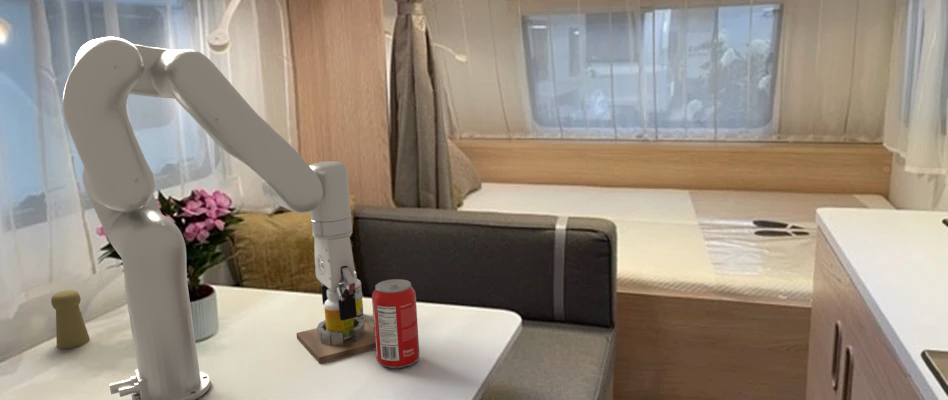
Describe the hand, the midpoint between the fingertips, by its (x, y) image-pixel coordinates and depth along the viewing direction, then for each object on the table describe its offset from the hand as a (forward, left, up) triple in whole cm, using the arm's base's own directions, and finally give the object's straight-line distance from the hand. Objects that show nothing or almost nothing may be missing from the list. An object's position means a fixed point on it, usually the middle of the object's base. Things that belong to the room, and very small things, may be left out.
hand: (339, 310), depth 141 cm
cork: (-46, +33, -7) cm, 57 cm away
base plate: (0, 0, -6) cm, 6 cm away
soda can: (+5, -15, -7) cm, 17 cm away
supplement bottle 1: (0, 0, -6) cm, 6 cm away
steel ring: (0, 0, -5) cm, 5 cm away
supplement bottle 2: (+6, +11, -7) cm, 14 cm away
